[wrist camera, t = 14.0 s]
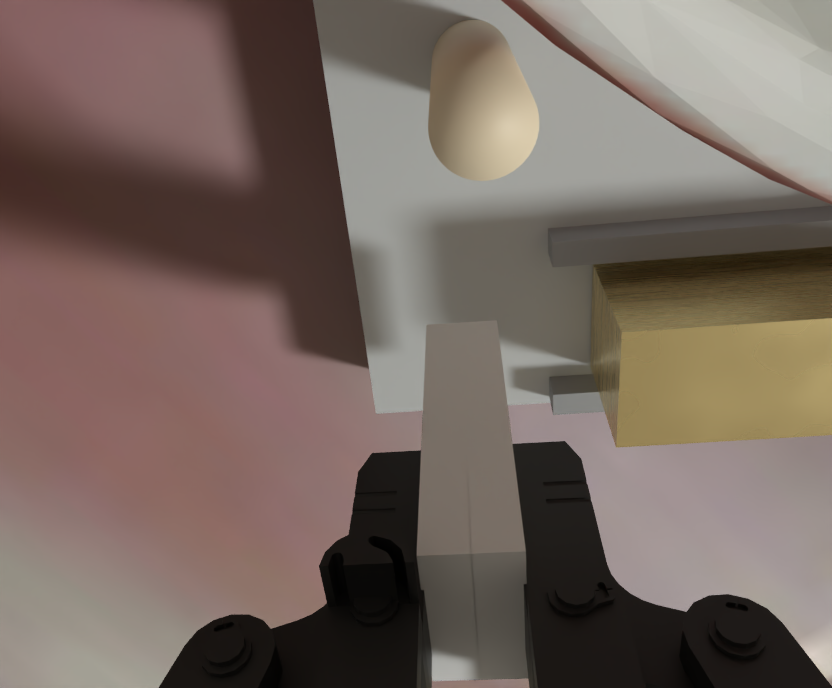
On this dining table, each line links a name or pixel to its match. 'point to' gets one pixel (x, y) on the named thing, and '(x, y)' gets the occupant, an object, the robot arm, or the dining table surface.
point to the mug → (715, 72)
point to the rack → (514, 190)
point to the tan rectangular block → (714, 347)
